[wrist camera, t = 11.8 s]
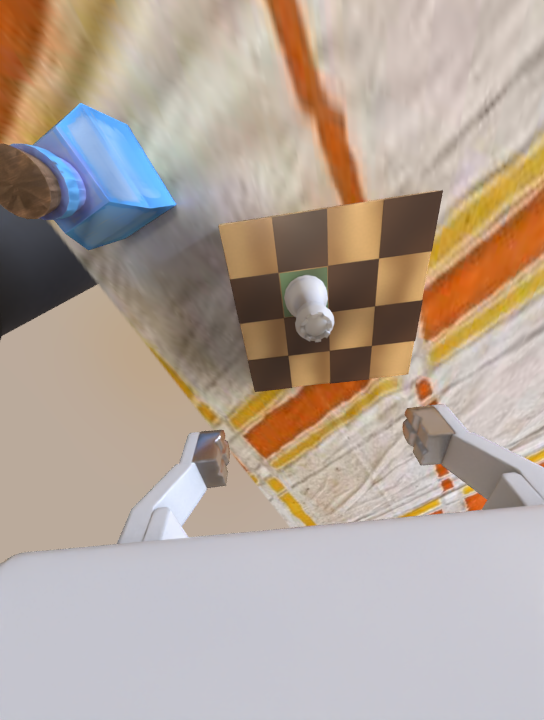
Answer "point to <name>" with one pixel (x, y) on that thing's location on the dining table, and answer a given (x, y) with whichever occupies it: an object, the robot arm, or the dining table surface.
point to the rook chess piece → (309, 307)
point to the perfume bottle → (84, 179)
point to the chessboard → (333, 287)
